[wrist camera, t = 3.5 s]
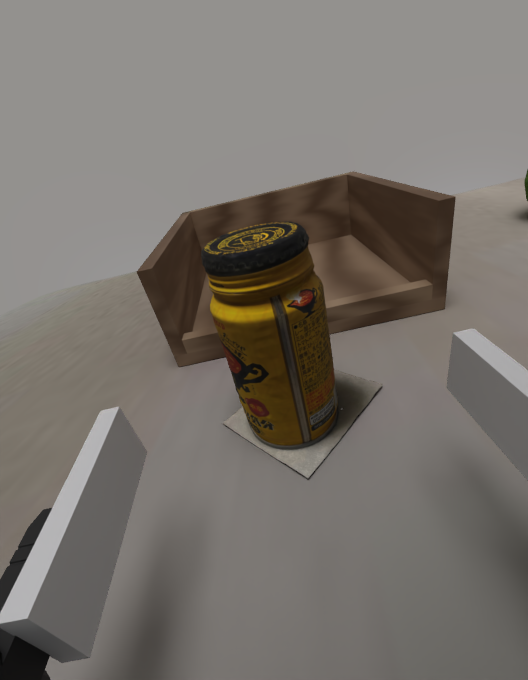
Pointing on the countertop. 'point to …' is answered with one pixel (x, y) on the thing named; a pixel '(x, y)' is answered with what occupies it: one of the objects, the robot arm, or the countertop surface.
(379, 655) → the countertop surface
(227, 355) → the condiment
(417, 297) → the tray
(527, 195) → the avocado
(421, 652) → the countertop surface
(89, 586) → the robot arm
